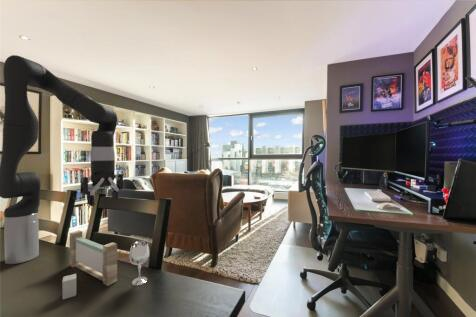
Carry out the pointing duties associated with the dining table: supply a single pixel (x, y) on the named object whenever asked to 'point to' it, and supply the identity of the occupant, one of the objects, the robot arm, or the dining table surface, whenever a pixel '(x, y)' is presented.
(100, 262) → the panel
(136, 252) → the wineglass
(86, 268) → the gate frame
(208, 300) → the dining table surface
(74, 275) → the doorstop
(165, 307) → the dining table surface
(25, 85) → the robot arm
